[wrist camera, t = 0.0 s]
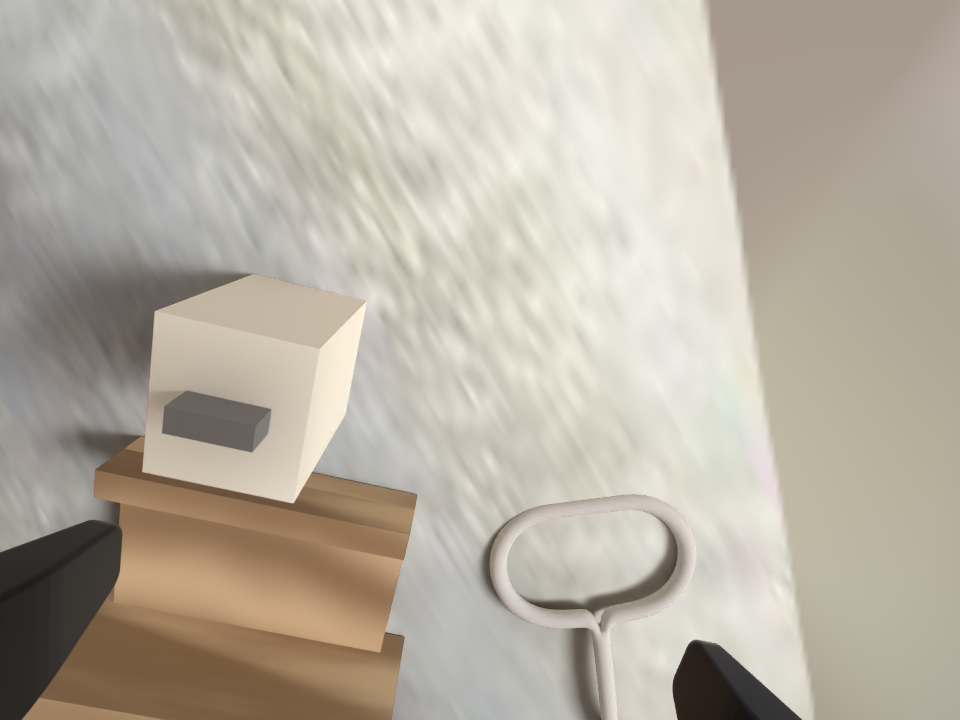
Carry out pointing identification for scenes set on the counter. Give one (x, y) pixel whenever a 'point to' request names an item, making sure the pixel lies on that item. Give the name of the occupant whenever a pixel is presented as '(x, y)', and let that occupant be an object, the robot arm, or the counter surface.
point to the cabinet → (249, 384)
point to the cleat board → (240, 604)
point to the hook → (612, 613)
